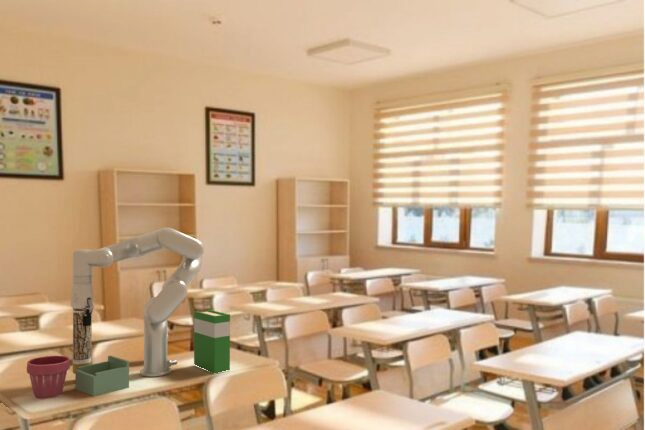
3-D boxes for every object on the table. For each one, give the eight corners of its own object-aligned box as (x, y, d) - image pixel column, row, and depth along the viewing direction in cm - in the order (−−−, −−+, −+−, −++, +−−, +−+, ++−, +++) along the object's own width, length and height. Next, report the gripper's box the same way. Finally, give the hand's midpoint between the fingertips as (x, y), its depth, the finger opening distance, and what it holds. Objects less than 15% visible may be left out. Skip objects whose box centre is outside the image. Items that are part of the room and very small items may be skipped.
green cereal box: (194, 365, 238) (194, 311, 238) (208, 363, 243) (209, 309, 243) (214, 374, 225) (214, 316, 225) (229, 370, 229) (229, 314, 230)
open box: (110, 380, 215) (110, 355, 215) (129, 387, 206) (129, 361, 206) (75, 388, 204) (75, 362, 204) (93, 396, 195) (93, 368, 195)
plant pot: (76, 394, 197) (76, 359, 197) (35, 404, 187) (36, 366, 187) (60, 386, 207) (60, 353, 207) (20, 395, 196) (20, 360, 197)
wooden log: (84, 375, 211) (84, 311, 212) (68, 374, 212) (69, 310, 213) (94, 370, 218) (95, 308, 218) (79, 369, 219) (80, 308, 220)
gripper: (63, 279, 219) (63, 323, 218) (84, 282, 208) (83, 328, 207) (81, 278, 224) (81, 321, 224) (102, 280, 213) (102, 325, 213)
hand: (82, 324), depth 216 cm, fingers closed on wooden log, 6 cm apart
